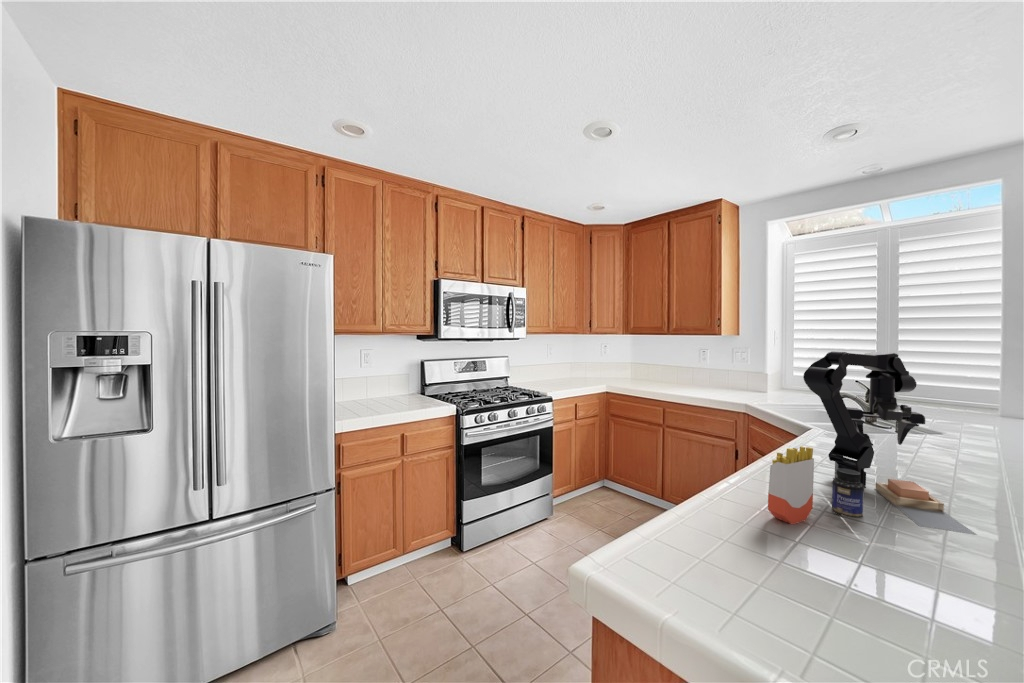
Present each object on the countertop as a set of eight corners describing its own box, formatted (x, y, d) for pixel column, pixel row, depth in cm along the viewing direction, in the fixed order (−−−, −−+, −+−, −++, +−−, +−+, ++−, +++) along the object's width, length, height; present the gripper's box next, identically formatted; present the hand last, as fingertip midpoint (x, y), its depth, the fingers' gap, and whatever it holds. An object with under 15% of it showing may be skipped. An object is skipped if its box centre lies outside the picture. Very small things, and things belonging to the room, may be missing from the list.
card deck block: (887, 490, 115) (888, 478, 115) (913, 494, 113) (913, 481, 113) (900, 501, 108) (901, 488, 107) (928, 505, 105) (928, 491, 105)
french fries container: (765, 518, 99) (767, 445, 99) (793, 510, 104) (795, 441, 103) (785, 526, 95) (787, 451, 95) (812, 518, 100) (814, 446, 99)
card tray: (895, 505, 106) (895, 497, 106) (875, 489, 117) (875, 482, 117) (943, 512, 103) (943, 503, 103) (918, 494, 114) (918, 487, 114)
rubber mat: (918, 528, 95) (918, 525, 95) (873, 490, 118) (873, 488, 118) (977, 537, 91) (977, 534, 91) (918, 496, 114) (918, 494, 114)
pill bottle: (834, 516, 101) (835, 472, 101) (828, 507, 106) (830, 465, 106) (866, 522, 98) (867, 477, 98) (859, 512, 103) (860, 469, 103)
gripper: (854, 394, 122) (852, 445, 122) (936, 399, 114) (934, 453, 115) (841, 389, 132) (839, 437, 132) (916, 393, 125) (914, 443, 125)
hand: (880, 442), depth 126 cm, fingers open, 9 cm apart
